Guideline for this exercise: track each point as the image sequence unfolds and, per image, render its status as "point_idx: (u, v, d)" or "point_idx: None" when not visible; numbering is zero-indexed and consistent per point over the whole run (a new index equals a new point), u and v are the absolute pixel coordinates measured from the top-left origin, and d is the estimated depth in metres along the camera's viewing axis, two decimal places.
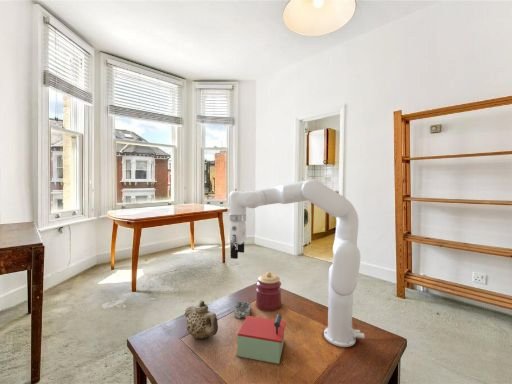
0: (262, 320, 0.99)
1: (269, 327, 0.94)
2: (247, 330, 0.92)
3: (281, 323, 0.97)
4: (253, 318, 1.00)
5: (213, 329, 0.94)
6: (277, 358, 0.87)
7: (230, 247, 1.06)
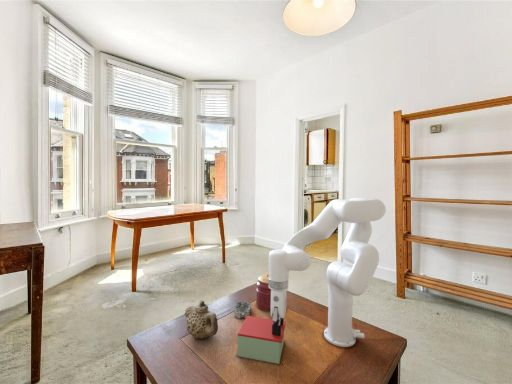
0: (262, 320, 0.99)
1: (269, 327, 0.94)
2: (247, 330, 0.92)
3: None
4: (253, 318, 1.00)
5: (213, 329, 0.94)
6: (277, 358, 0.87)
7: (272, 323, 0.89)
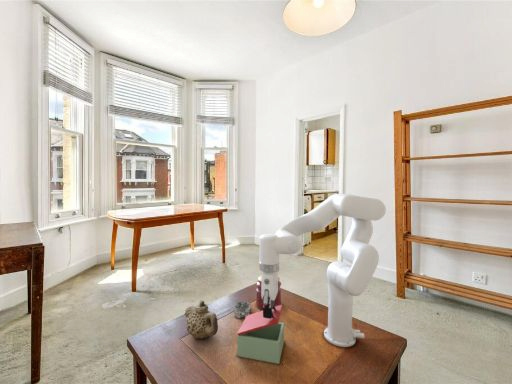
0: (260, 313, 0.99)
1: None
2: (246, 327, 0.92)
3: (277, 307, 0.97)
4: (252, 315, 1.00)
5: (213, 329, 0.94)
6: (277, 358, 0.87)
7: (263, 305, 0.89)
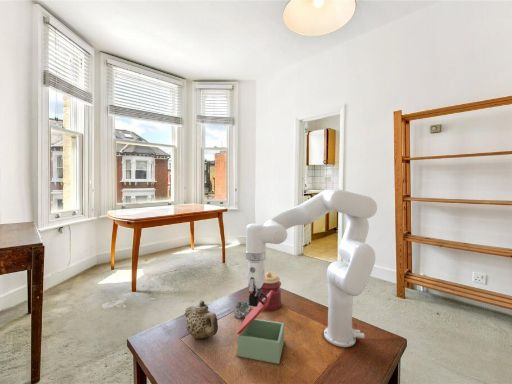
0: (256, 307, 0.99)
1: (259, 305, 0.95)
2: (244, 324, 0.92)
3: (268, 294, 0.98)
4: (250, 312, 1.01)
5: (213, 329, 0.94)
6: (277, 358, 0.87)
7: (249, 294, 0.90)
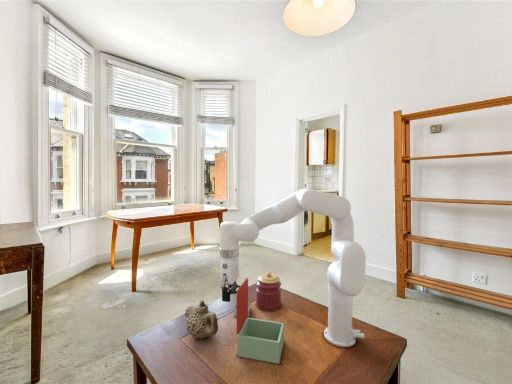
0: None
1: None
2: None
3: None
4: None
5: (213, 329, 0.94)
6: (277, 358, 0.87)
7: None
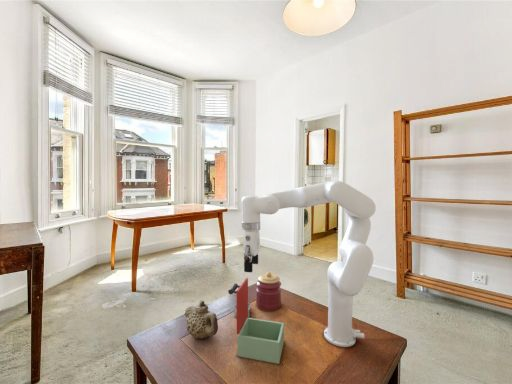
0: None
1: None
2: None
3: None
4: None
5: (213, 329, 0.94)
6: (277, 358, 0.87)
7: (244, 259, 0.94)
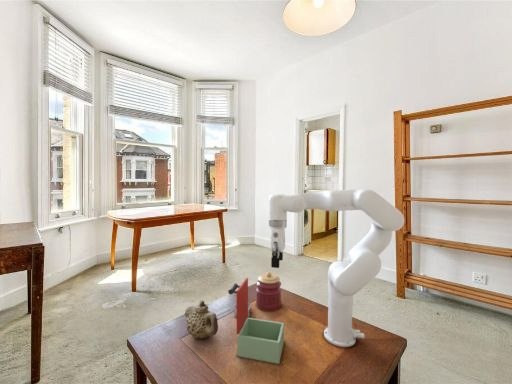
0: None
1: None
2: None
3: None
4: None
5: (213, 329, 0.94)
6: (277, 358, 0.87)
7: None
